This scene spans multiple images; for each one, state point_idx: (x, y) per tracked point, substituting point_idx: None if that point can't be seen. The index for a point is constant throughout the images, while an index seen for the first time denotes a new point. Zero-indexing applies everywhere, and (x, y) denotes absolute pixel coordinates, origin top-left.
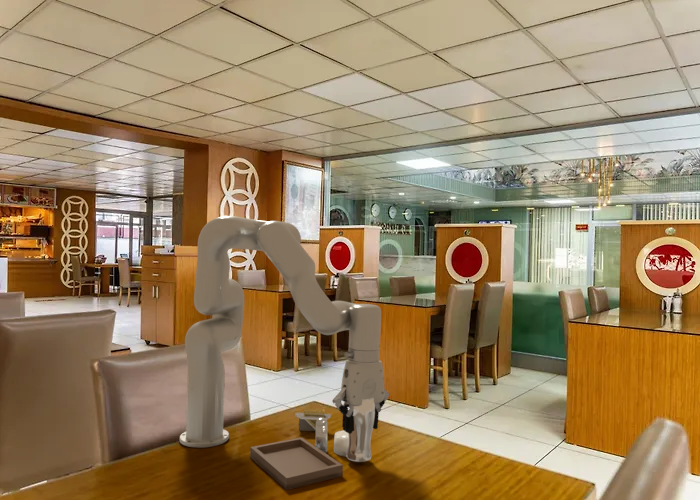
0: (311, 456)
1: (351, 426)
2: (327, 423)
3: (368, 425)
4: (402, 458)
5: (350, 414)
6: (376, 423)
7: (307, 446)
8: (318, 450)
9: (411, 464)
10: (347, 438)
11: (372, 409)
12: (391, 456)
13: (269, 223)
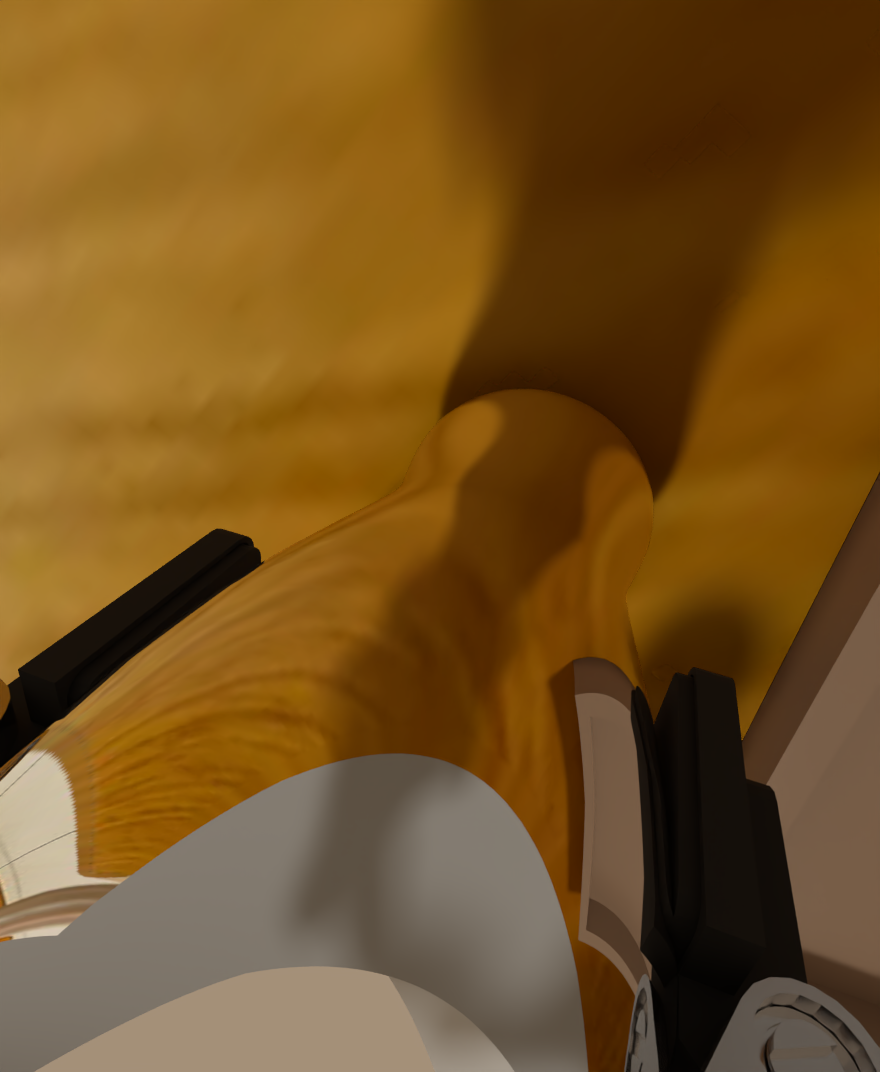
0: (819, 792)
1: (718, 750)
2: None
3: (429, 551)
4: (168, 288)
5: (748, 1027)
6: (191, 569)
7: None
8: (788, 797)
9: (168, 121)
10: None
11: (121, 764)
12: (224, 383)
13: None
